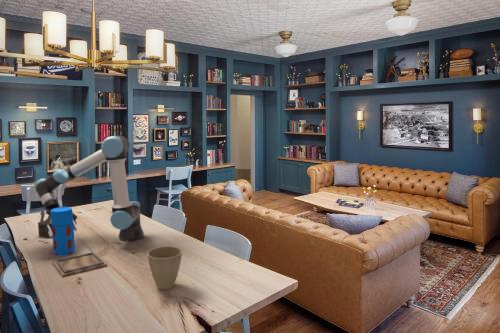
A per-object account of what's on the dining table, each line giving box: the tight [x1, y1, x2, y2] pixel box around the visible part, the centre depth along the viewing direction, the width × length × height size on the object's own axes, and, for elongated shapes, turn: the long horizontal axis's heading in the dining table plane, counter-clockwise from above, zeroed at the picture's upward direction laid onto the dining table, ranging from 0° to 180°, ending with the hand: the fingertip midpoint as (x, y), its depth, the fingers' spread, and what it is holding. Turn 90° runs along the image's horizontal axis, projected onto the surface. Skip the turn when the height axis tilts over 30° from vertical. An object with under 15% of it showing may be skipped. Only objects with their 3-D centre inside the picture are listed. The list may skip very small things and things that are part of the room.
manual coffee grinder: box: [37, 205, 68, 239], centre depth 242 cm, size 16×11×18 cm
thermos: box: [51, 206, 76, 257], centre depth 208 cm, size 11×11×25 cm
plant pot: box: [147, 245, 183, 290], centre depth 166 cm, size 15×15×16 cm
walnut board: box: [52, 251, 108, 278], centre depth 192 cm, size 21×21×2 cm
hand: (64, 233), depth 206 cm, fingers open, 13 cm apart
